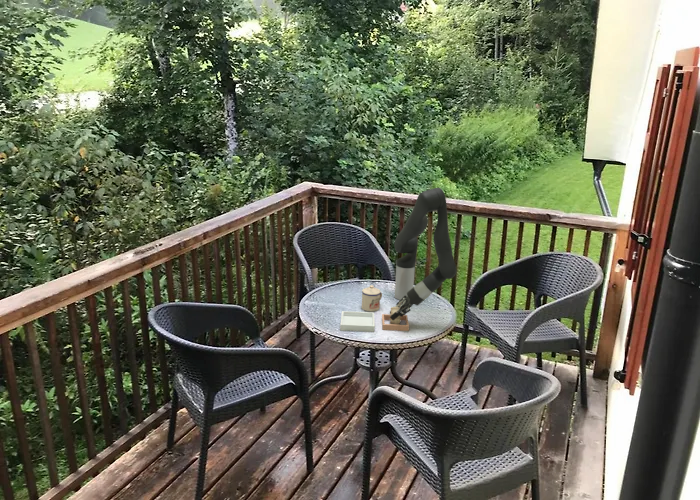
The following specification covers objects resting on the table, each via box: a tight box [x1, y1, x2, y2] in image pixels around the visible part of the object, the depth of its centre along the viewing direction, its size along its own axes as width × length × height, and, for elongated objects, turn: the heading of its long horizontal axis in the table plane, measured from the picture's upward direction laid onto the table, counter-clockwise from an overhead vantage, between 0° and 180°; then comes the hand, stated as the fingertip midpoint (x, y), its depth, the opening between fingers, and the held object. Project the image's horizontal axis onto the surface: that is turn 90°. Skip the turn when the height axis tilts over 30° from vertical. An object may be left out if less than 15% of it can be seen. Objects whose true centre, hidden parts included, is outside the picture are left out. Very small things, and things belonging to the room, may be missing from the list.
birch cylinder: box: [389, 306, 401, 325], centre depth 254 cm, size 5×5×8 cm
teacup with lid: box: [361, 284, 383, 313], centre depth 271 cm, size 12×9×12 cm
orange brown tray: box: [381, 313, 410, 332], centre depth 255 cm, size 12×12×2 cm
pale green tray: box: [339, 310, 376, 333], centre depth 254 cm, size 15×15×3 cm
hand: (391, 316), depth 254 cm, fingers closed on birch cylinder, 4 cm apart
